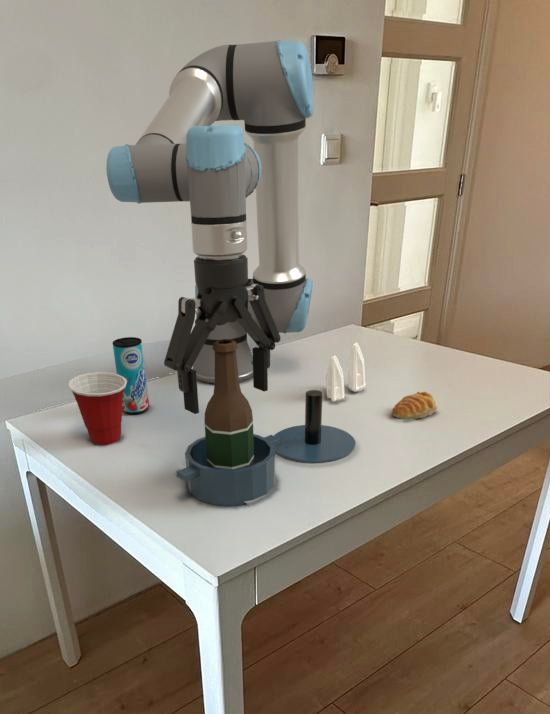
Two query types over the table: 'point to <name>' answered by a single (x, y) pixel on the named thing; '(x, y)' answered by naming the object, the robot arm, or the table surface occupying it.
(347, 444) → the lid
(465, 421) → the table surface
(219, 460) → the beer bottle
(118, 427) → the plastic cup
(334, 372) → the shaker set
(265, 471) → the pot
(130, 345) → the beverage can
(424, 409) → the pastry
